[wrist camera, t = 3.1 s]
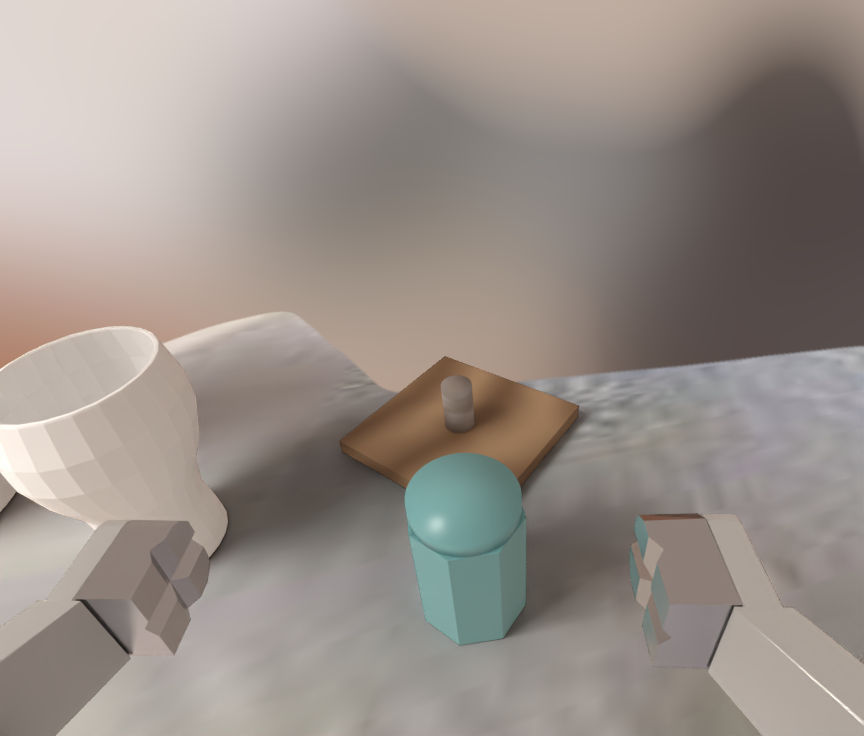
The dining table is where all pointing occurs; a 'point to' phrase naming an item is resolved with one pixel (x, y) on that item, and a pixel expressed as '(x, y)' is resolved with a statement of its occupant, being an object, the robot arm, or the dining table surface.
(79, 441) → the cup
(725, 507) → the dining table surface
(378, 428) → the square wooden board
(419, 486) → the teal octagonal jar
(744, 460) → the dining table surface
